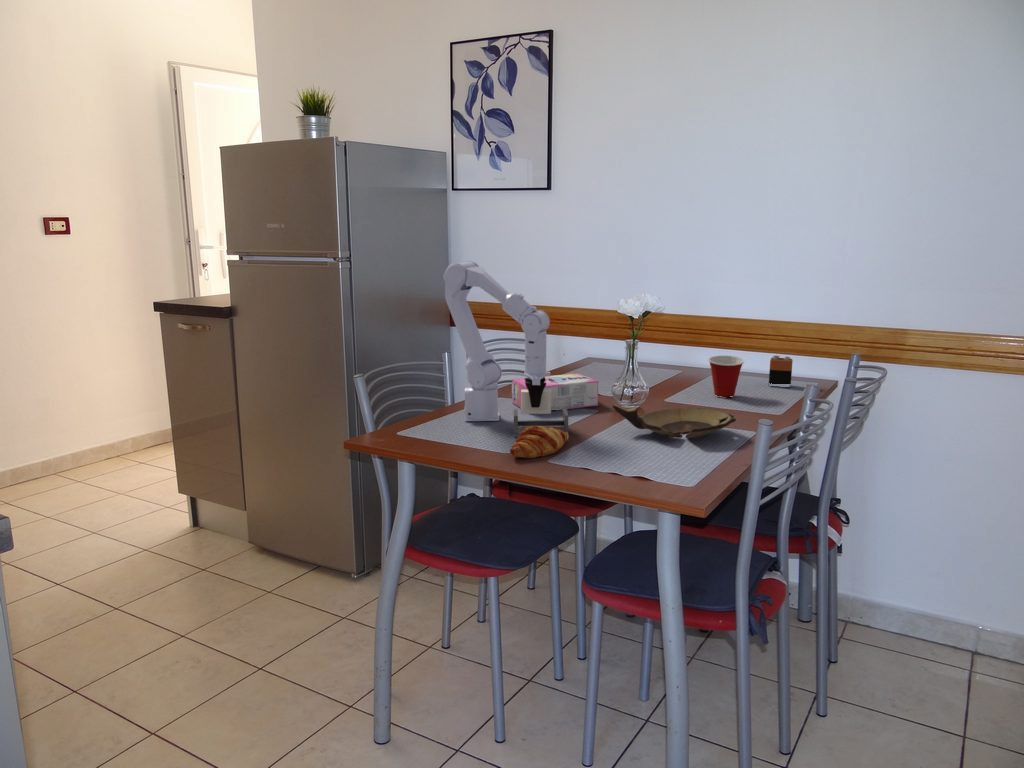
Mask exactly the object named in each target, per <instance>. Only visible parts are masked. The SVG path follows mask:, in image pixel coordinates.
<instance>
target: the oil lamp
mask: <svg viewBox="0 0 1024 768" xmlns="http://www.w3.org/2000/svg"><path fill="white" fill-rule="evenodd" d="M612 409H614V410H615V411H616V412H617V413H618V414H619V415H621V417H623V418H625V420H626V421H628V423H630V424H631V425H632V426H634V427H635V428H636V429H638V430H648V431H649V430H650V431H652V432H655V433H657V434H659V435H663V436H667V437H672V438H679V439H682V438H683V435H682V434H686V435H685V438H686V439H690V438H691V439H693V438H698V437H703V436H706V435H710V434H712V433H715V432H717V431H720V430H721V429H724V428H725V427H728V426H729V425H730V424H732V423H735V422H736V421H737V419H736V418H734V415H733V414H731V413H727V412H724V411H720V410H717V409H711V408H710V409H709V408H703V407H702V408H699V407H688V406H687V407H676V408H675V407H674V408H667V409H660V410H655V411H652V412H647V413H645V414H644V415H642V416H639V415H638V408H637V407H632V408H625V407H622V406H619V405H617V404H612Z"/></svg>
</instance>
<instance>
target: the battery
mask: <svg viewBox="0 0 1024 768" xmlns="http://www.w3.org/2000/svg"><path fill="white" fill-rule="evenodd" d="M792 373H793V358H791V357H790V356H784V357H780V355H773V356H772V357H771V358H770V360H769V372H768V384H769V383H770V384H771V383H772V384H791V385H792V376H793V375H792Z"/></svg>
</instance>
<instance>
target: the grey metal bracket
mask: <svg viewBox="0 0 1024 768" xmlns="http://www.w3.org/2000/svg"><path fill="white" fill-rule="evenodd" d="M518 412H519V411H518V408H517V409H515V408H514V409H513V437H514V438H519V437H518V436H520V433H521V432H522V431H524V430H525V429H526V428H528V427H532V426H542V427H551V428H554V429H556V430H557V429H560V430H562V431H563V432H567V433H568V434H569V413H568V409H563V410H562V419H553V420H552V419H550V420H544V419H543V420H542V419H541V420H538V419H537V420H536V419H535V420H533V419H531V420H527V419H526V420H524V419H523V420H519V413H518Z"/></svg>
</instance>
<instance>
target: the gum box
mask: <svg viewBox="0 0 1024 768" xmlns="http://www.w3.org/2000/svg"><path fill="white" fill-rule="evenodd" d="M525 378H526V377H519V378H518V377H516V378H512V379H511V397H512V398H511V399H512V403H513V405H515V406H517V407H518V408H520V409H521V390H528V389H527V387H526V385H525ZM545 382H546V386H545V388H544V390H551V410H556V411H561V410H562V411H563V409H567V410H572V409H579V408H580V409H582V408H588V407H598V406H599V380H597V379H594V378H592V377H589V376H586V375H584V374H581V373H577V372H576V373H567V374H557V375H550V376H545Z"/></svg>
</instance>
